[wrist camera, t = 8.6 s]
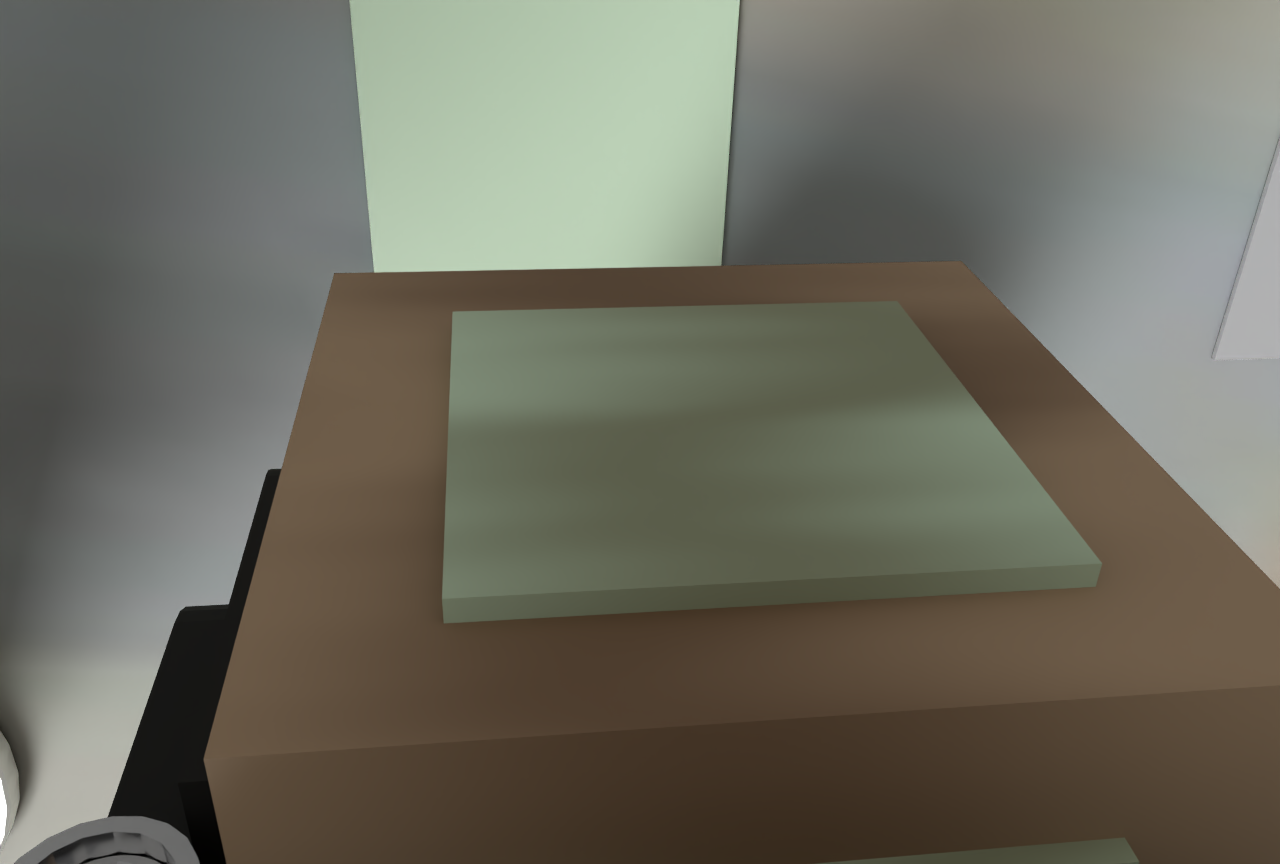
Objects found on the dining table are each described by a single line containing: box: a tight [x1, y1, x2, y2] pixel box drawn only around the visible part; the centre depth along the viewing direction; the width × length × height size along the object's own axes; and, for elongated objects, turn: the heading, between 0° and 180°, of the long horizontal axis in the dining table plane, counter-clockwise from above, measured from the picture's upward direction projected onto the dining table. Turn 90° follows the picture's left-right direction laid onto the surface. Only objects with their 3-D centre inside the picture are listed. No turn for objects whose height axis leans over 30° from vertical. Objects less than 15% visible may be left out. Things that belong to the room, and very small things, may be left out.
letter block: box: [204, 261, 1280, 864], centre depth 10 cm, size 6×6×6 cm
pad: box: [349, 0, 740, 273], centre depth 28 cm, size 9×9×1 cm
